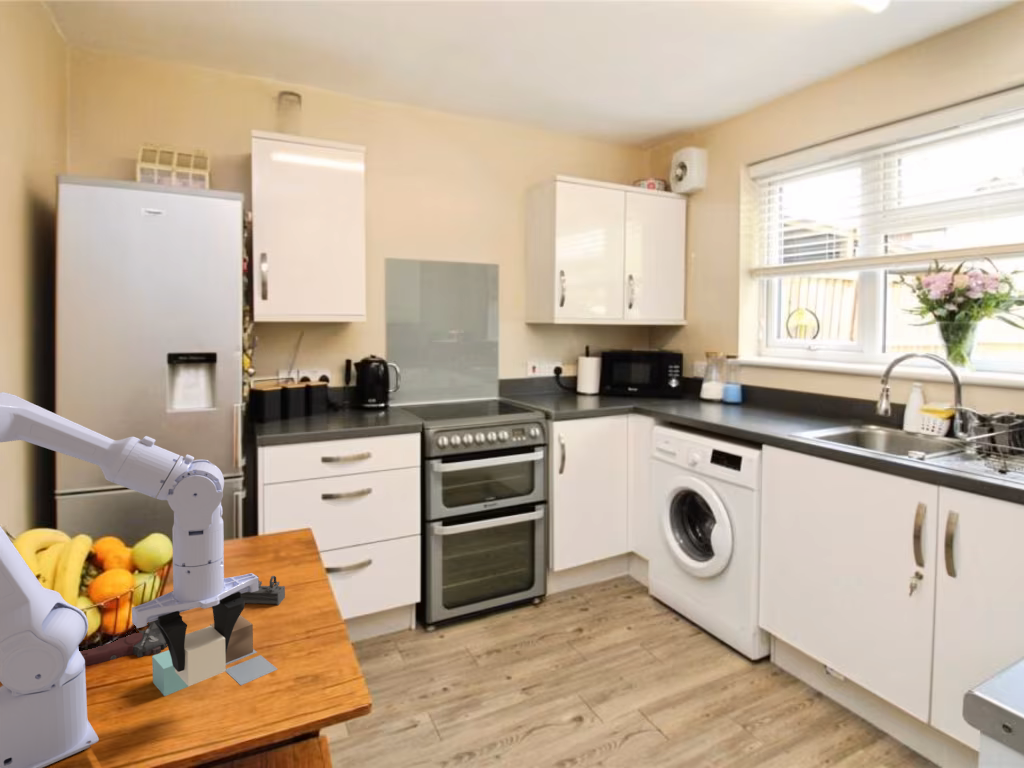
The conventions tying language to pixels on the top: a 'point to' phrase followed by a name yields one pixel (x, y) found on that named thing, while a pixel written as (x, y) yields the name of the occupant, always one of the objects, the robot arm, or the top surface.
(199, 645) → the cream cube
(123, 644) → the pistol
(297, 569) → the top surface
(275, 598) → the light fixture
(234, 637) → the walnut cube
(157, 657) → the teal cube
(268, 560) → the top surface
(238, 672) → the white tray board
